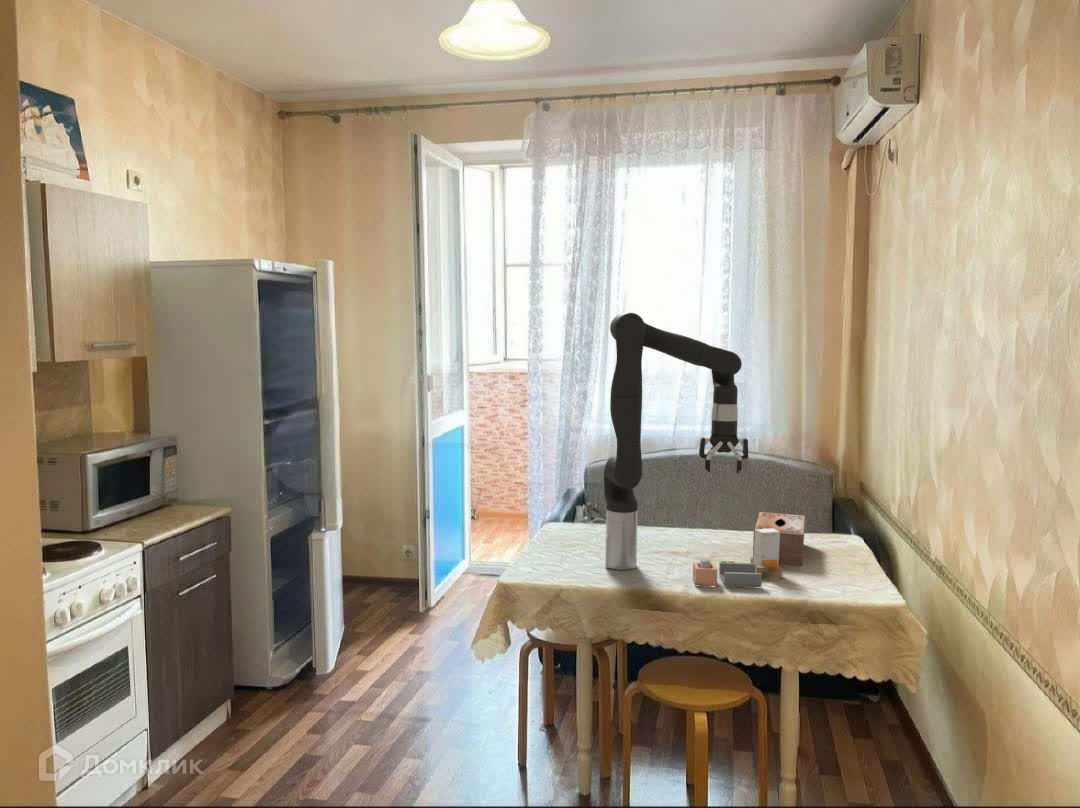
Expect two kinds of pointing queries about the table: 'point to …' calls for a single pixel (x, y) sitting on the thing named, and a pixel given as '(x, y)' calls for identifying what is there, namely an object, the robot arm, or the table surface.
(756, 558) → the skincare box
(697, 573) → the cup
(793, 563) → the tissue box cover
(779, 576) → the trough
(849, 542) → the table surface
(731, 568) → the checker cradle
